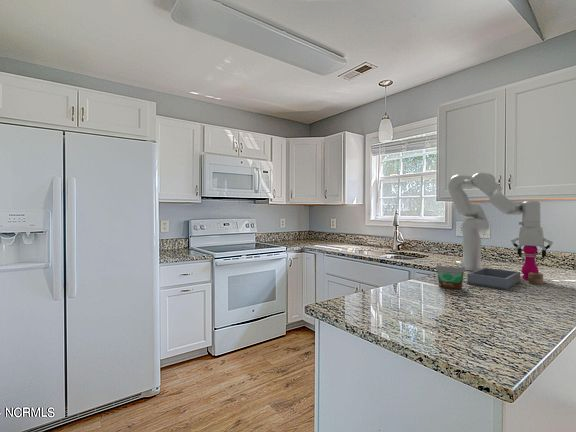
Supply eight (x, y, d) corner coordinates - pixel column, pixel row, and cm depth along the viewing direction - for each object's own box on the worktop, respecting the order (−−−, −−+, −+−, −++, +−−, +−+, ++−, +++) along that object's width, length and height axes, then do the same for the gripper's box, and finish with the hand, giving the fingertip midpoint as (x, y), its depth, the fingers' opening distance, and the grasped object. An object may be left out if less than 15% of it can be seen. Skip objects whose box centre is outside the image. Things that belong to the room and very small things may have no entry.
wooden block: (528, 283, 152) (528, 273, 152) (530, 282, 155) (530, 272, 155) (541, 285, 148) (541, 275, 148) (543, 283, 152) (543, 273, 152)
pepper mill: (538, 281, 156) (539, 242, 156) (521, 279, 161) (521, 241, 161) (538, 279, 162) (538, 241, 162) (521, 277, 166) (521, 240, 166)
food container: (434, 288, 140) (435, 266, 140) (435, 285, 146) (435, 264, 146) (465, 291, 134) (466, 268, 134) (465, 288, 140) (465, 266, 140)
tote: (467, 283, 150) (467, 273, 150) (483, 276, 167) (484, 267, 167) (506, 290, 138) (506, 279, 138) (520, 281, 155) (520, 272, 155)
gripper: (509, 224, 165) (509, 256, 165) (551, 224, 152) (551, 259, 152) (512, 224, 170) (513, 255, 170) (553, 224, 157) (554, 257, 157)
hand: (531, 256), depth 161 cm, fingers open, 9 cm apart
